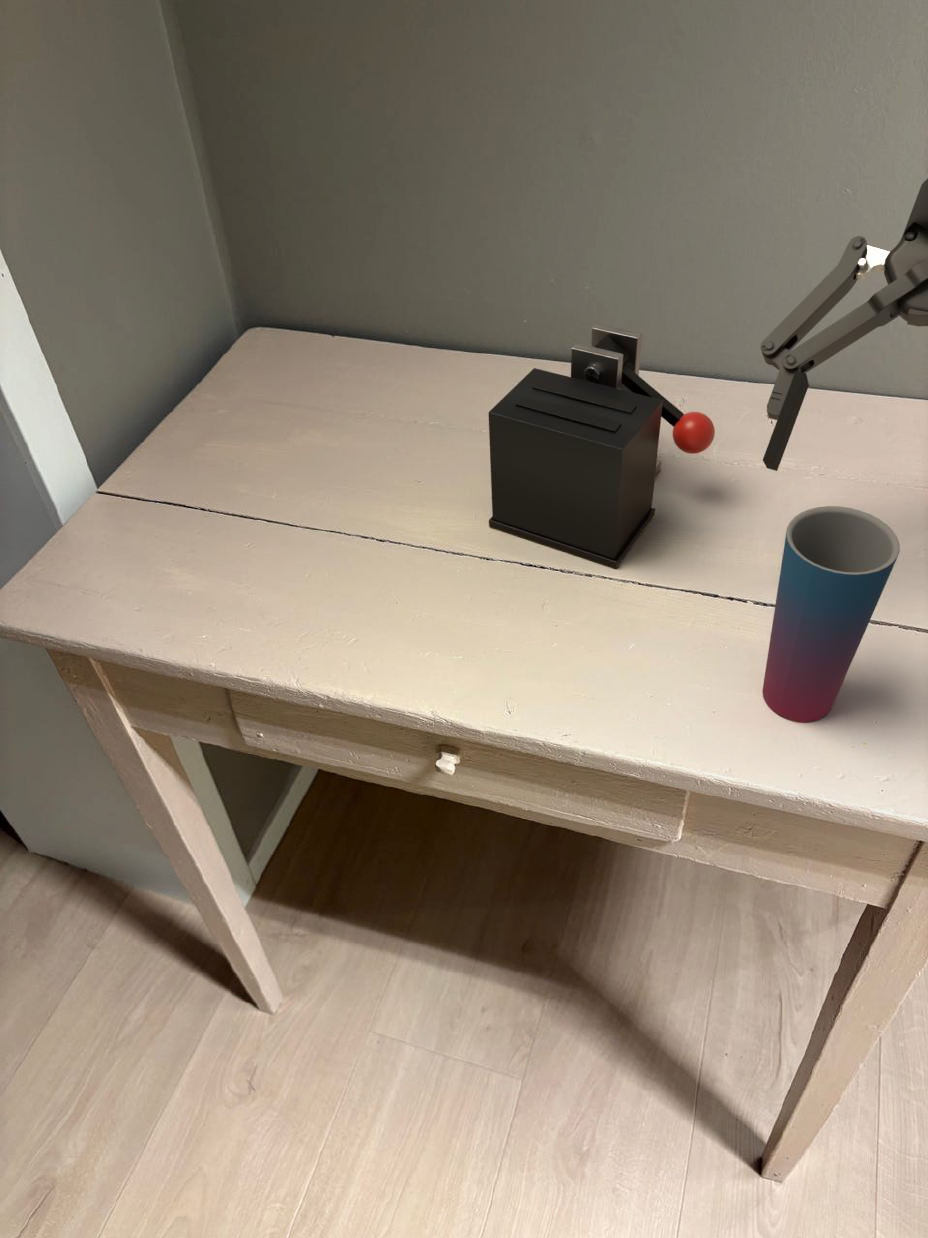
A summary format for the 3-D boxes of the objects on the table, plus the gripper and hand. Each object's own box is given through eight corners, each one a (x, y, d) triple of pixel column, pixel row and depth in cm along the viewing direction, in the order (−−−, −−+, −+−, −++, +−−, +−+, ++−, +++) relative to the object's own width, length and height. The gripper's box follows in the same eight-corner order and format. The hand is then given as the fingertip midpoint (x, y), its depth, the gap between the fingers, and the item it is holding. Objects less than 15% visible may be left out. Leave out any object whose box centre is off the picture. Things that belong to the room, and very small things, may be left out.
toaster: (654, 515, 87) (667, 398, 79) (616, 569, 82) (625, 450, 74) (532, 478, 92) (532, 364, 84) (488, 526, 87) (483, 410, 79)
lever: (704, 447, 86) (728, 423, 84) (689, 468, 84) (714, 443, 81) (592, 353, 86) (613, 325, 84) (574, 372, 84) (595, 343, 81)
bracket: (660, 469, 92) (675, 337, 82) (635, 503, 88) (647, 369, 79) (567, 443, 96) (570, 314, 86) (539, 474, 92) (539, 343, 83)
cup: (782, 649, 74) (822, 492, 64) (863, 694, 71) (920, 535, 60) (731, 698, 71) (765, 541, 61) (813, 747, 67) (864, 589, 57)
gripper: (1181, 246, 62) (1060, 554, 64) (800, 189, 73) (703, 456, 74) (1218, 190, 56) (1080, 537, 57) (791, 136, 66) (684, 432, 67)
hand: (867, 492), depth 66 cm, fingers open, 13 cm apart
